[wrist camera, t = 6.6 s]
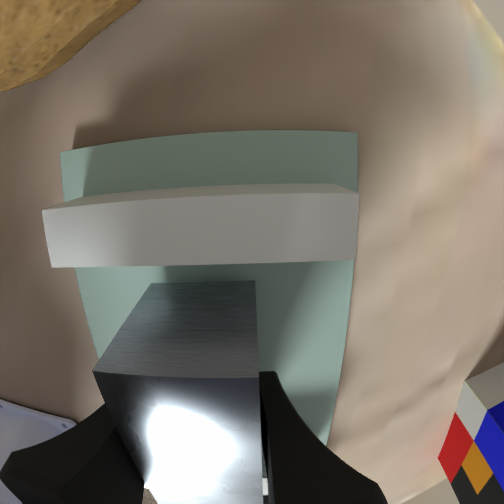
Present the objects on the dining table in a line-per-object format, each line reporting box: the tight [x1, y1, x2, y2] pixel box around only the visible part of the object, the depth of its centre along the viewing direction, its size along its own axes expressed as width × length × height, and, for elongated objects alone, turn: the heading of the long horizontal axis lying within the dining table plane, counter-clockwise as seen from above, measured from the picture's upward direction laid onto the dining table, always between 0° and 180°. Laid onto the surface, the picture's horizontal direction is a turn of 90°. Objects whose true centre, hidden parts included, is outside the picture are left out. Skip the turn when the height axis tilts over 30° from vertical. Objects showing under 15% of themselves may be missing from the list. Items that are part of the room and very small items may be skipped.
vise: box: [42, 130, 359, 446], centre depth 13 cm, size 12×18×4 cm, turn 2°
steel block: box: [92, 280, 263, 504], centre depth 10 cm, size 4×8×6 cm, turn 2°
